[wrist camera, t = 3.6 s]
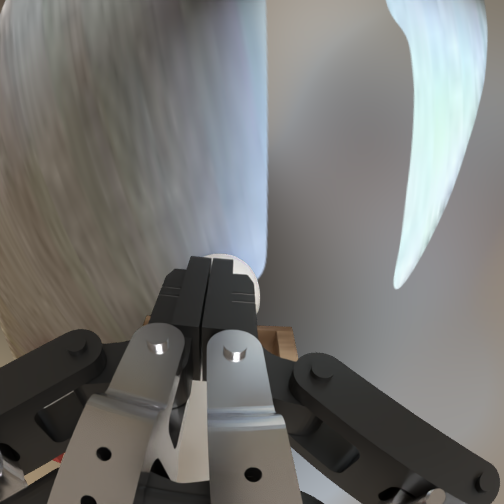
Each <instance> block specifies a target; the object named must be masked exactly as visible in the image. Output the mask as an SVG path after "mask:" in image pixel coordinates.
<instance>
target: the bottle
mask: <svg viewBox="0 0 504 504" xmlns="http://www.w3.org/2000/svg"><path fill="white" fill-rule="evenodd" d="M204 257H208V258H212V261H213V258H221V259H233V274H246V275H248V276H249V277H250V279H251V280H252V281H253V283H254V289H255V304H256V314H257V312H258V309H259V305H260V292H259V285H258V281H257V278H256V276H255V274H254V272H253V271H252V269H251V268H250V266H249V265H247V264H246V263H245V262H244V261H243V260H241V259H239V258H237V257H235V256H232V255H227V254H211V255H207V256H204ZM211 267H212V266H211ZM178 461H179V464H178V474H177V480H176V482H178V483H191V482H200V481H208V480H209V460H208V432H207V381H202V370H201V379H200V381H195V380H192V388H191V394H190V402H189V407H188V411H187V416H186V421H185V425H184V430H183V435H182V439H181V444H180V449H179V457H178Z"/></svg>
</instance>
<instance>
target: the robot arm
mask: <svg viewBox="0 0 504 504" xmlns="http://www.w3.org/2000/svg"><path fill="white" fill-rule="evenodd" d="M211 266H212V267H211ZM201 370H202V381H207V432H208V460H209V480H208V481H200V482H191V483H178V482H176V480H177V474H178V464H179V461H178V457H179V449H180V444H181V439H182V435H183V430H184V425H185V421H186V416H187V411H188V407H189V402H190V394H191V388H192V380H195V381H200V379H201ZM72 391H73V392H72ZM70 392H72V393H70ZM68 393H70V394H68ZM67 394H68V395H67ZM65 395H67V396H65ZM63 396H65V397H63ZM62 397H63V398H62ZM60 398H62V399H60ZM58 399H60V400H58ZM56 400H58V401H56ZM55 401H56V402H55ZM53 402H55V403H53ZM51 403H53V404H51ZM50 404H51V405H50ZM48 405H49V406H48ZM46 406H48V407H46ZM44 407H46V408H44ZM290 446H291V447H292V448H293V449H294V450H295V451H296V452H297V453H299V454H300V455H301V456H302V457H303V458H304V459H306V460H307V461H308V462H309V463H310V464H311V465H313V466H314V467H315V468H316V469H318V470H319V471H320V472H321V473H322V474H324V475H325V476H326V477H327V478H329V479H330V480H331V481H332V482H334V483H335V484H336V485H338V486H339V487H340V488H342V489H343V490H344V491H345V492H347V493H348V494H350V495H351V496H352V497H354V498H355V499H356V500H358V501H359V502H361V503H362V504H491V503H492V501H494V499H495V498H496V496H497V494H498V491H499V487H500V478H499V474H498V472H497V470H496V468H495V467H494V466H493V465H492V464H491V463H489V462H487V461H486V460H484V459H483V458H481V457H479V456H478V455H476V454H474V453H472V452H471V451H470V450H468V449H466V448H465V447H463V446H462V445H460V444H459V443H457V442H456V441H454V440H452V439H451V438H449V437H448V436H446V435H445V434H443V433H442V432H440V431H439V430H437V429H436V428H434V427H433V426H431V425H430V424H428V423H427V422H425V421H424V420H422V419H421V418H419V417H418V416H416V415H415V414H414V413H412V412H410V411H409V410H408V409H406V408H405V407H403V406H402V405H400V404H399V403H398V402H396V401H395V400H393V399H392V398H390V397H389V396H388V395H386V394H385V393H383V392H382V391H380V390H379V389H378V388H376V387H375V386H373V385H372V384H371V383H369V382H368V381H366V380H365V379H364V378H362V377H361V376H360V375H358V374H357V373H355V372H354V371H353V370H351V369H350V368H348V367H347V366H346V365H344V364H343V363H342V362H340V361H339V360H338V359H336V358H334V357H333V356H330V355H327V354H324V353H309V354H306V355H304V356H302V357H300V358H299V359H298V360H297V361H296V362H295V361H292V360H288V359H284V358H281V357H278V356H276V355H273V354H272V353H270V352H268V351H267V350H266V349H265V348H264V347H263V346H262V345H261V343H260V341H259V339H258V331H257V317H256V304H255V289H254V283H253V281H252V280H251V279H250V277H249V276H248V275H246V274H233V259H221V258H213V261H212V258H208V257H196V256H191V257H190V260H189V264H188V267H187V270H185V269H174V270H173V271H172V272H171V273H169V274H168V275H167V276H166V278H165V280H164V283H163V285H162V288H161V290H160V293H159V296H158V298H157V301H156V304H155V306H154V309H153V312H152V314H151V317H150V320H149V322H148V324H147V325H145V326H143V327H141V328H139V329H138V330H137V331H136V332H135V333H134V335H133V336H132V338H131V340H129V341H126V342H120V343H109V344H102V343H101V340H100V338H99V337H98V336H97V335H96V334H95V333H94V332H92V331H89V330H84V329H78V330H73V331H70V332H68V333H66V334H64V335H62V336H60V337H58V338H56V339H54V340H52V341H50V342H48V343H46V344H44V345H42V346H41V347H39V348H37V349H35V350H33V351H31V352H29V353H27V354H25V355H23V356H22V357H20V358H18V359H16V360H14V361H12V362H10V363H8V364H7V365H5V366H3V367H1V368H0V504H324V503H322V502H321V501H319V500H317V499H316V498H315V497H312V496H311V495H309V494H307V493H305V492H302V491H300V489H299V484H298V480H297V475H296V471H295V466H294V461H293V457H292V452H291V448H290ZM63 453H65V455H64V457H63V460H62V462H61V465H60V467H59V468H57V469H55V470H53V471H51V472H50V473H48V474H46V475H45V476H43V477H42V478H40V479H38V480H37V481H35V482H34V483H32V484H30V485H29V486H28V485H27V482H26V480H25V479H24V475H26V474H28V473H30V472H32V471H34V470H35V469H37V468H39V467H41V466H42V465H44V464H46V463H48V462H49V461H51V460H53V459H54V458H56V457H58V456H60V455H61V454H63Z"/></svg>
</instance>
